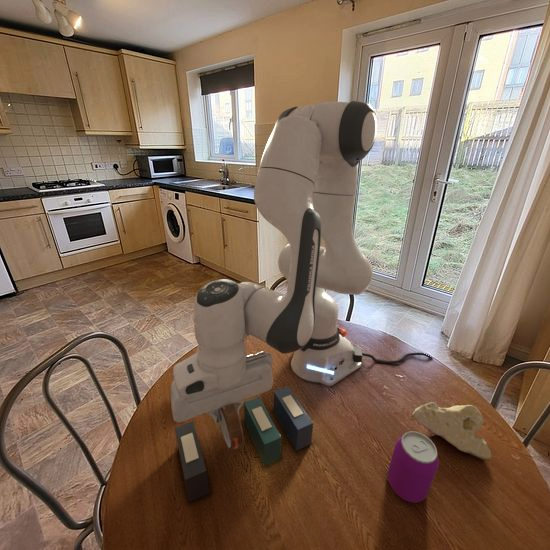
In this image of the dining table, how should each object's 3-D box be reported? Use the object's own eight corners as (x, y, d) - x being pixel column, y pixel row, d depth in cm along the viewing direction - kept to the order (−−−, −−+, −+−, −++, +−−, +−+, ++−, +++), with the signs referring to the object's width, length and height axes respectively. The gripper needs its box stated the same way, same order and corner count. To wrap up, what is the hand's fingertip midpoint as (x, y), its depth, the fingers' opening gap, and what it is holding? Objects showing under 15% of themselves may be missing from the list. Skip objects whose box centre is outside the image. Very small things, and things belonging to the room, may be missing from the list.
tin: (244, 457, 56) (246, 425, 53) (228, 463, 55) (229, 431, 52) (222, 399, 68) (223, 371, 65) (209, 403, 67) (209, 374, 64)
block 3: (286, 405, 78) (287, 385, 75) (311, 444, 68) (313, 422, 65) (273, 411, 76) (273, 390, 73) (296, 451, 66) (297, 429, 63)
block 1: (196, 441, 68) (193, 420, 65) (209, 492, 58) (206, 469, 55) (178, 448, 66) (174, 426, 63) (188, 502, 57) (184, 479, 54)
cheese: (486, 443, 71) (448, 383, 76) (508, 448, 64) (466, 382, 69) (434, 473, 69) (399, 409, 74) (451, 483, 62) (411, 412, 67)
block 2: (259, 416, 74) (259, 395, 71) (280, 458, 65) (281, 436, 62) (244, 422, 73) (243, 401, 70) (264, 466, 63) (264, 444, 60)
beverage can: (406, 512, 56) (420, 473, 51) (378, 474, 62) (388, 435, 57) (435, 495, 59) (451, 456, 54) (405, 460, 65) (417, 422, 60)
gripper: (265, 340, 62) (265, 389, 67) (164, 369, 53) (173, 422, 59) (279, 358, 57) (277, 410, 62) (169, 393, 48) (178, 449, 54)
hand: (225, 416), depth 60 cm, fingers closed on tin, 2 cm apart
